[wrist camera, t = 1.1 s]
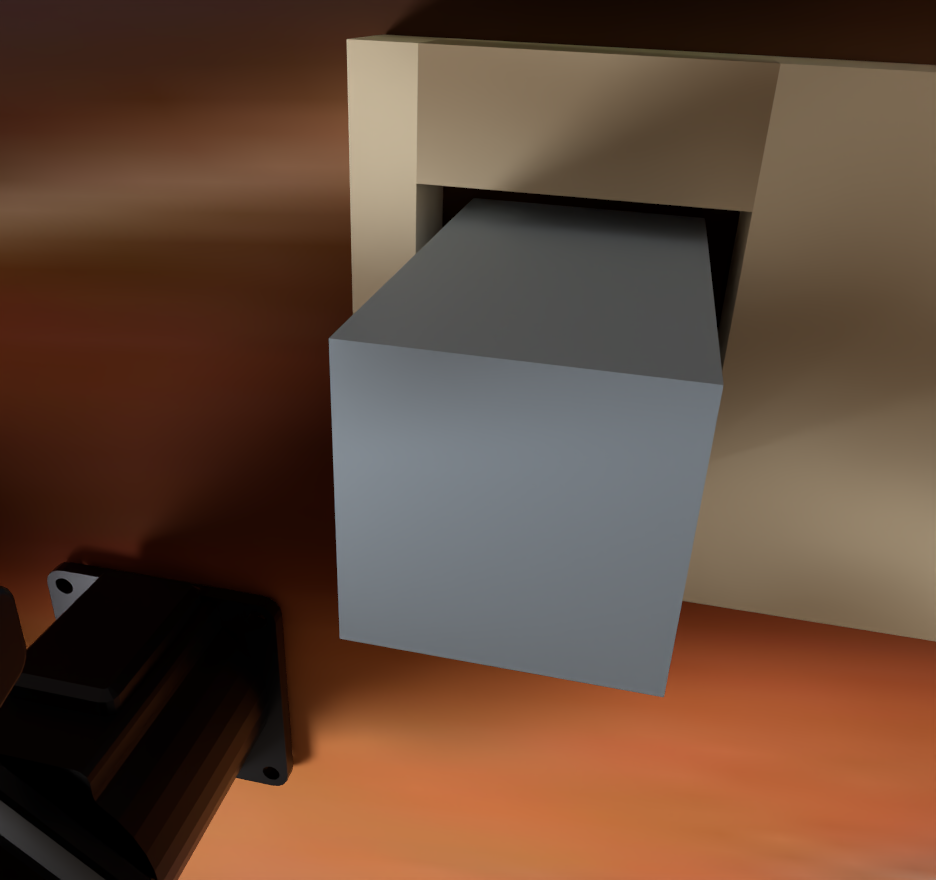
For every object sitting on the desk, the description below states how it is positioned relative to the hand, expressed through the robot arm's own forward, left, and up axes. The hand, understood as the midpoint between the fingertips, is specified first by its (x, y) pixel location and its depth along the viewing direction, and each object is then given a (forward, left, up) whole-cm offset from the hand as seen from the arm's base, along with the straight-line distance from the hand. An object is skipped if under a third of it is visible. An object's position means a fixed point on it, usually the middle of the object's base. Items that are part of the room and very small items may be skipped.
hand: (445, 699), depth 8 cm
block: (0, 0, -11) cm, 11 cm away
